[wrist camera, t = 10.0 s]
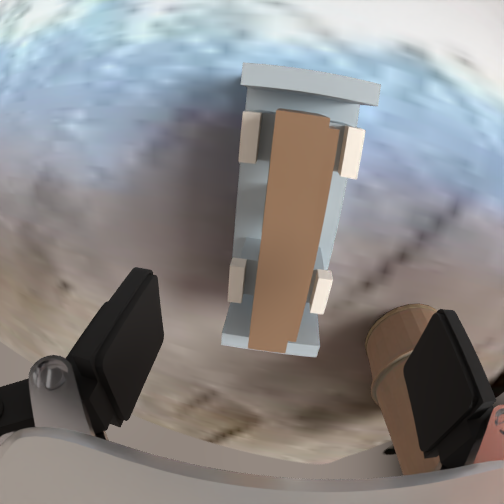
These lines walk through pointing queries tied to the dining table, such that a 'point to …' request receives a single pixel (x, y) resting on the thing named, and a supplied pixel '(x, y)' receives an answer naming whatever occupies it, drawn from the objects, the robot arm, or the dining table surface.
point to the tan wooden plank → (291, 225)
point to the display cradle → (256, 175)
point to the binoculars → (398, 380)
